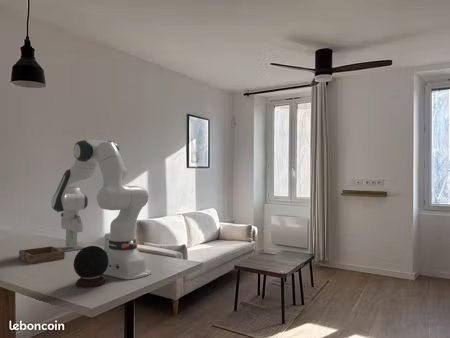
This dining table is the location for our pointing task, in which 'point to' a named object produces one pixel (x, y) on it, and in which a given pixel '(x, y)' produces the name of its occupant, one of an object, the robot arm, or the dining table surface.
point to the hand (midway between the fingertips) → (71, 238)
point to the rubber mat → (71, 248)
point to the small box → (106, 242)
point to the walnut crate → (41, 254)
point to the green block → (70, 239)
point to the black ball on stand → (90, 266)
